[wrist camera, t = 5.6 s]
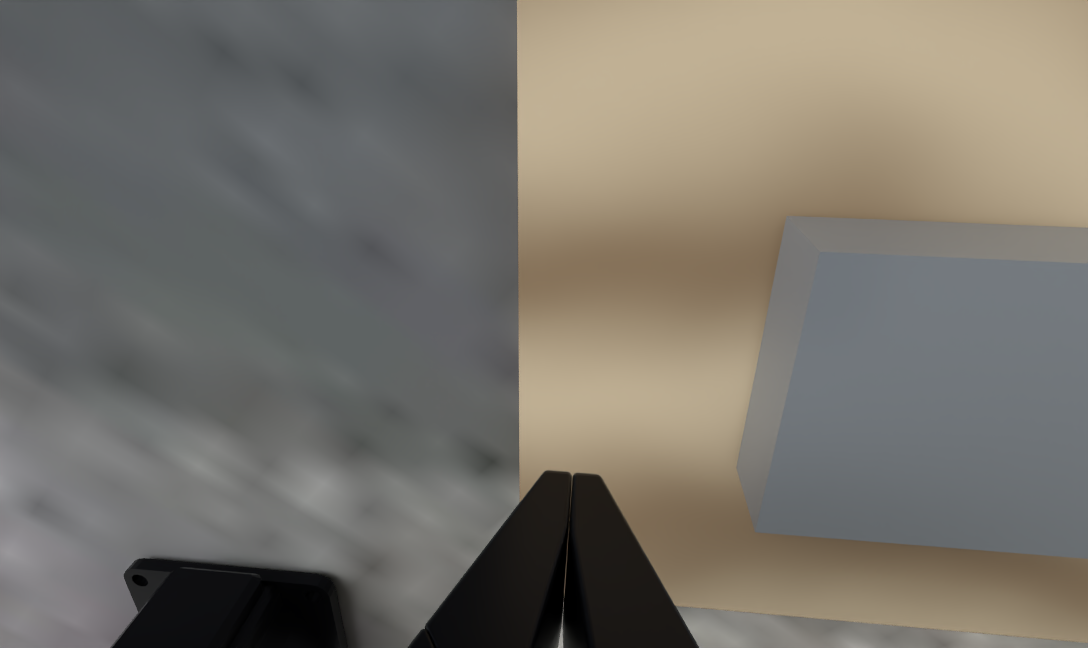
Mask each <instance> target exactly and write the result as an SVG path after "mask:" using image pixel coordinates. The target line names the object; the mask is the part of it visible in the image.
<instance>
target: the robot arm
mask: <svg viewBox="0 0 1088 648" xmlns="http://www.w3.org/2000/svg"><path fill="white" fill-rule="evenodd" d="M571 486H572V491H571ZM570 502H571V505H570ZM569 517H570V519H569ZM568 531H569V534H568ZM567 546H568V548H567ZM566 560H567V563H566ZM565 574H566V578H565ZM124 579H125V581H126V584H127V586H128V589H129V591H130V593H131V596H132V598H133V600H134V603H135V605H136V607H137V610H138V614H137V615H136V616H135V617H134V619H133V620H132V621H131V622H130V624H129V625H128V626H127V627H126V629H125V630H124V631H123V632H122V634H121V635H120V636H119V637H118V639H117V640H116V641H115V642H114V644H113V645H112V646H111V647H110V648H347V643H346V638H345V633H344V628H343V623H342V618H341V613H340V608H339V603H338V598H337V594H336V589H335V586H334V583H333V582H332V581H331V580H330V579H329V578H327V577H325V576H323V575H319V574H312V573H301V572H290V571H279V570H267V569H256V568H245V567H234V566H223V565H212V564H201V563H190V562H178V561H167V560H156V559H145V558H143V559H137V560H135V561H134V562H133V563H132V565H131V566H130V567H129V568H128V569H127V570H126V571H125V573H124ZM564 588H565V593H564ZM563 602H564V608H563ZM562 614H563V648H699V647H698V645H697V643H696V641H695V640H694V638H693V636H692V634H691V633H690V631H689V629H688V627H687V626H686V624H685V622H684V620H683V619H682V617H681V615H680V613H679V612H678V610H677V608H676V606H675V605H674V603H673V601H672V599H671V598H670V596H669V594H668V592H667V591H666V589H665V587H664V585H663V584H662V582H661V580H660V578H659V577H658V575H657V573H656V571H655V570H654V568H653V566H652V564H651V563H650V561H649V559H648V557H647V556H646V554H645V552H644V550H643V549H642V547H641V545H640V543H639V542H638V540H637V538H636V536H635V534H634V533H633V531H632V529H631V527H630V526H629V524H628V522H627V520H626V519H625V517H624V515H623V513H622V512H621V510H620V508H619V506H618V505H617V503H616V501H615V499H614V498H613V496H612V494H611V492H610V491H609V489H608V487H607V485H606V484H605V482H604V480H603V479H602V477H601V476H600V475H598V474H592V473H580V472H576V473H574V475H573V477H572V475H571V473H570V472H568V471H556V470H546V471H544V472H543V473H542V475H541V476H540V477H539V478H538V480H537V481H536V482H535V484H534V485H533V486H532V488H531V489H530V490H529V491H528V493H527V494H526V495H525V497H524V498H523V499H522V500H521V502H520V503H519V504H518V506H517V507H516V508H515V510H514V511H513V512H512V513H511V515H510V516H509V517H508V519H507V520H506V521H505V522H504V524H503V525H502V526H501V528H500V529H499V530H498V532H497V533H496V534H495V535H494V537H493V538H492V539H491V541H490V542H489V543H488V544H487V546H486V547H485V548H484V550H483V551H482V552H481V554H480V555H479V556H478V557H477V559H476V560H475V561H474V563H473V564H472V565H471V567H470V568H469V569H468V570H467V572H466V573H465V574H464V576H463V577H462V578H461V579H460V581H459V582H458V583H457V585H456V586H455V587H454V589H453V590H452V591H451V592H450V594H449V595H448V596H447V598H446V599H445V600H444V601H443V603H442V604H441V605H440V607H439V608H438V609H437V611H436V612H435V613H434V614H433V616H432V617H431V618H430V620H429V621H428V622H427V623H426V625H425V629H422V630H421V631H420V632H419V633H418V635H417V636H416V637H415V639H414V640H413V641H412V642H411V644H410V645H409V646H408V648H558V643H559V637H560V631H561V624H562Z"/></svg>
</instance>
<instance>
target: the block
mask: <svg viewBox="0 0 1088 648" xmlns="http://www.w3.org/2000/svg"><path fill="white" fill-rule="evenodd" d="M736 469H737V472H738V475H739V479H740V482H741V486H742V489H743V493H744V496H745V500H746V503H747V506H748V510H749V513H750V517H751V520H752V524H753V527H754V530H755V532H757V533H770V534H783V535H795V536H808V537H820V538H833V539H845V540H858V541H870V542H883V543H896V544H908V545H921V546H933V547H946V548H958V549H971V550H983V551H996V552H1009V553H1021V554H1034V555H1046V556H1059V557H1071V558H1084V559H1088V228H1084V227H1059V226H1033V225H1008V224H983V223H957V222H932V221H907V220H882V219H856V218H831V217H806V216H786V221H785V226H784V231H783V236H782V241H781V246H780V251H779V256H778V261H777V266H776V271H775V276H774V281H773V286H772V291H771V296H770V301H769V306H768V311H767V316H766V321H765V326H764V331H763V336H762V341H761V346H760V351H759V356H758V361H757V366H756V371H755V376H754V381H753V386H752V391H751V396H750V401H749V406H748V411H747V416H746V421H745V426H744V431H743V436H742V441H741V446H740V451H739V456H738V461H737V466H736Z"/></svg>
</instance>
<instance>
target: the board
mask: <svg viewBox="0 0 1088 648" xmlns="http://www.w3.org/2000/svg"><path fill="white" fill-rule="evenodd" d="M517 75H518V268H519V461H520V502H521V500H522V499H523V498H524V497H525V495H526V494H527V493H528V491H529V490H530V489H531V488H532V486H533V485H534V484H535V482H536V481H537V480H538V478H539V477H540V476H541V475H542V473H543V472H544V471H546V470H556V471H568V472H570V473H571V475H572V477H573V475H574V473H576V472H580V473H592V474H598V475H600V476H601V477H602V479H603V480H604V482H605V484H606V485H607V487H608V489H609V491H610V492H611V494H612V496H613V498H614V499H615V501H616V503H617V505H618V506H619V508H620V510H621V512H622V513H623V515H624V517H625V519H626V520H627V522H628V524H629V526H630V527H631V529H632V531H633V533H634V534H635V536H636V538H637V540H638V542H639V543H640V545H641V547H642V549H643V550H644V552H645V554H646V556H647V557H648V559H649V561H650V563H651V564H652V566H653V568H654V570H655V571H656V573H657V575H658V577H659V578H660V580H661V582H662V584H663V585H664V587H665V589H666V591H667V592H668V594H669V596H670V598H671V599H672V601H673V603H674V605H675V606H682V607H694V608H705V609H716V610H727V611H738V612H749V613H760V614H772V615H783V616H794V617H805V618H816V619H827V620H838V621H849V622H861V623H872V624H883V625H894V626H905V627H916V628H927V629H939V630H950V631H961V632H972V633H983V634H994V635H1005V636H1016V637H1028V638H1039V639H1050V640H1061V641H1072V642H1083V643H1088V559H1084V558H1071V557H1059V556H1046V555H1034V554H1021V553H1009V552H996V551H983V550H971V549H958V548H946V547H933V546H921V545H908V544H896V543H883V542H870V541H858V540H845V539H833V538H820V537H808V536H795V535H783V534H770V533H757V532H755V530H754V527H753V524H752V520H751V517H750V513H749V510H748V506H747V503H746V500H745V496H744V493H743V489H742V486H741V482H740V479H739V475H738V472H737V469H736V466H737V461H738V456H739V451H740V446H741V441H742V436H743V431H744V426H745V421H746V416H747V411H748V406H749V401H750V396H751V391H752V386H753V381H754V376H755V371H756V366H757V361H758V356H759V351H760V346H761V341H762V336H763V331H764V326H765V321H766V316H767V311H768V306H769V301H770V296H771V291H772V286H773V281H774V276H775V271H776V266H777V261H778V256H779V251H780V246H781V241H782V236H783V231H784V226H785V221H786V216H806V217H831V218H856V219H882V220H907V221H932V222H957V223H983V224H1008V225H1033V226H1059V227H1084V228H1088V0H517ZM571 491H572V486H571ZM570 505H571V502H570ZM569 519H570V517H569ZM568 534H569V531H568ZM567 548H568V546H567ZM566 563H567V560H566ZM565 578H566V574H565ZM564 593H565V588H564Z"/></svg>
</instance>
